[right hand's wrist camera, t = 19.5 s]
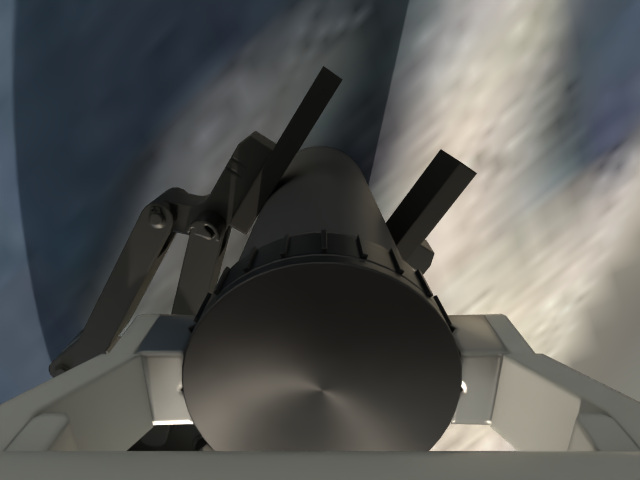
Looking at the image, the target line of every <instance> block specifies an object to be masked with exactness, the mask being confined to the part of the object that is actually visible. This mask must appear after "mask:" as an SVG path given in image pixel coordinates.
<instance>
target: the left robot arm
mask: <svg viewBox="0 0 640 480" xmlns="http://www.w3.org/2000/svg"><path fill="white" fill-rule="evenodd" d="M341 81H342V79H341V78H340V77H338V76H337V75H335V74H334V73H332V72H331V71H330V70H328V69H327V68H325V67H324V66H323V68H322V69H321V71H320V73H319V74H318V76H317V78H316V79H315V81H314V83H313V84H312V86H311V88H310V89H309V91H308V93H307V94H306V96H305V98H304V99H303V101H302V103H301V104H300V106H299V108H298V109H297V111H296V113H295V114H294V116H293V118H292V119H291V121H290V123H289V124H288V126H287V128H286V129H285V131H284V133H283V134H282V136H281V138H280V139H279V141H278V143H277V144H275V143H274V142H272V141H271V140H269V139H268V138H266V137H264V136H263V135H261V134H260V133H258V132H257V131H255V132H254V133H252V134H251V135H250V136H248V137H247V138H246V139H244V140H243V141H242V142H241V143H240V144H239V145H238V146H237V148H236V150H235V152H234V153H233V155H232V157H231V159H230V160H229V162H228V164H227V166H226V168H225V169H224V171H223V173H222V174H221V176H220V178H219V180H218V181H217V183H216V185H215V187H214V188H213V190H212V192H211V194H209V195H206V196H197V195H193V194H188V193H187V192H186V191H185V190H184V189H181V188H178V187H177V188H171V189H168V190H167V191H166V192H164V193H163V194H162V195H160V196H159V197H158V198H156V199H155V200H154V201H152V202H151V203H150V204H148V205H147V206H146V207H145V208H144V209H143V211H142V212H141V214H140V216H139V219H138V221H137V223H136V225H135V227H134V229H133V231H132V233H131V235H130V237H129V239H128V241H127V243H126V245H125V247H124V249H123V251H122V253H121V255H120V257H119V259H118V261H117V263H116V265H115V267H114V269H113V271H112V273H111V275H110V277H109V279H108V281H107V283H106V285H105V287H104V289H103V291H102V293H101V295H100V297H99V299H98V302H97V304H96V306H95V308H94V310H93V312H92V314H91V316H90V318H89V320H88V322H87V324H86V326H85V328H84V329H83V330H82V331H81V332H80V333H79V334H78V335H77V336H76V337H75V338H74V339H73V340H72V341H71V342H70V344H69V345H68V346H67V347H66V348H65V349H64V350H63V351H62V352H61V353H60V354H59V355H58V356H57V357H56V358H55V360H54V361H53V362H52V363H51V364H50V365H49V372H50V375H51V376H52V377H53V378H54V377H56V376H58V375H60V374H62V373H64V372H66V371H68V370H70V369H72V368H74V367H76V366H78V365H80V364H82V363H84V362H86V361H88V360H90V359H92V358H94V357H96V356H98V355H100V354H109V352H110V351H111V350H112V348H113V347H114V346H115V345H116V343H117V342H118V341H119V339H120V338H121V337H120V336H118V335H119V334H120V333H121V331H122V330H123V329H124V328H125V326H126V325H127V324H128V322H129V321H130V319H131V317H132V316H133V314H134V312H135V310H136V308H137V306H138V305H139V303H140V301H141V299H142V297H143V295H144V293H145V291H146V290H147V288H148V286H149V284H150V282H151V280H152V278H153V276H154V275H155V273H156V271H157V269H158V267H159V265H160V263H161V262H162V260H163V258H164V256H165V254H166V252H167V250H168V248H169V247H170V245H171V243H172V241H173V239H174V237H175V235H176V234H177V233H182V234H187V235H190V236H189V240H188V244H187V249H186V253H185V257H184V262H183V266H182V270H181V274H180V279H179V283H178V287H177V292H176V296H175V300H174V304H173V309H172V313H171V315H196V314H197V312H198V311H199V309H200V307H201V305H202V303H203V301H204V299H205V297H206V295H207V293H208V292H209V293H211V294H212V292H213V291H214V289H215V287H216V284H217V280H218V276H219V273H220V269H221V265H222V262H223V258H224V254H225V251H226V247H227V243H228V239H229V236H230V232H231V228H232V227H234V228H235V229H237V230H239V231H240V232H242V233H244V234H247V232H248V230H249V229H250V227H251V226H252V224H253V222H254V221H255V219H256V218H257V216H258V214H259V213H260V211H261V210H262V208H263V206H264V205H265V203H266V202H267V200H268V198H269V197H270V195H271V194H272V192H273V190H274V189H275V187H276V185H277V184H278V182H279V181H280V179H281V177H282V176H283V174H284V173H285V171H286V169H287V168H288V166H289V165H290V163H291V161H292V160H293V158H294V157H295V155H296V153H297V152H298V150H299V149H300V147H301V145H302V144H303V142H304V141H305V139H306V137H307V136H308V134H309V133H310V131H311V129H312V128H313V126H314V124H315V123H316V121H317V120H318V118H319V116H320V115H321V113H322V112H323V110H324V108H325V107H326V105H327V104H328V102H329V100H330V99H331V97H332V96H333V94H334V92H335V91H336V89H337V88H338V86H339V84H340V83H341ZM476 174H477V173H476V172H474V171H473V170H471V169H470V168H468V167H467V166H466V165H464V164H463V163H461V162H460V161H458V160H457V159H455V158H454V157H452V156H451V155H449V154H447V153H446V152H444V151H443V150H440V151H439V152H438V154H437V155H436V156H435V158H434V159H433V160H432V162H431V163H430V164H429V166H428V167H427V168H426V170H425V171H424V172H423V174H422V175H421V176H420V178H419V179H418V181H417V182H416V183H415V185H414V186H413V187H412V189H411V190H410V191H409V193H408V194H407V195H406V197H405V198H404V199H403V201H402V202H401V203H400V205H399V206H398V207H397V209H396V210H395V211H394V213H393V214H392V215H391V217H390V218H389V219H388V221H387V222H386V225H387V227H388V229H389V232H390V234H391V236H392V238H393V240H394V242H395V245H396V247H397V249H398V251H399V253H400V255H401V257H402V260H404V261H405V262H406V263H408V264H409V265H410V266H411V267H412V268H413V269H414V270H415V271H416V270H418V269H419V270H420V271H421V272H422V274H424V273H425V272H426V270H427V269H428V268H429V267H430V266H431V263H432V259H433V256H434V252H433V250H432V249H431V247H430V245H429V244H428V242H427V241H426V240H425V238H426V237H427V236H428V235H429V233H430V232H431V231H432V230H433V228H434V227H435V226H436V225H437V223H438V222H439V221H440V219H441V218H442V217H443V216H444V214H445V213H446V212H447V211H448V209H449V208H450V207H451V206H452V204H453V203H454V202H455V201H456V199H457V198H458V197H459V195H460V194H461V193H462V192H463V190H464V189H465V188H466V187H467V185H468V184H469V183H470V182H471V180H472V179H473V178H474V177H475V175H476ZM127 451H214V450H213V449H212V448H211V447H210V445H209V444H208V443H207V442H206V441H205V440H204V438H203V437H202V436H201V434H200V433H199V431H198V430H197V428H196V427H195V425H194V423H193V424H164V425H153V428H152V429H150V430H149V431H148V432H147V433H146V434H145V435H144V436H143V437H141V438H140V439H139V440H138V441H137V442H136V443H135V444H134V445H132V446H131V447H130V448H129V449H128V450H127Z"/></svg>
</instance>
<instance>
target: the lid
mask: <svg viewBox="0 0 640 480" xmlns="http://www.w3.org/2000/svg"><path fill="white" fill-rule="evenodd" d="M193 322H196V323H197V324H196V326H195V328H194V330H193V332H192V334H191V336H190V338H189V341H188V344H187V346H186V349H185V353H184V358H183V363H182V388H183V395H184V399H185V403H186V406H187V410H188V412H189V414H190V417H191V419H192V421H193V423H194V425H195V427H196V428H197V430H198V431H199V433H200V434H201V436H202V437H203V438H204V440H205V441H206V442H207V443H208V444H209V445H210V447H211V448H212V449H213V450H214V451H429V450H430V449H431V448H432V447H433V446H434V445H435V444H436V442H437V441H438V440H439V439H440V438H441V436H442V435H443V433H444V432H445V430H446V429H447V427H448V426H449V424H450V422H451V420H452V418H453V416H454V414H455V411H456V408H457V405H458V402H459V398H460V392H461V385H462V365H461V360H460V354H459V350H458V347H457V344H456V341H455V338H454V336H453V334H452V332H451V330H450V328H449V326H450V325H452V323H451V321H450V319H449V317H448V315H447V313H446V312H445V310H444V308H443V306H442V304H441V302H440V300H439V299H438V297H437V295H436V296H434V297H433V293H432V292H431V290H430V288H429V286H428V284H427V282H426V280H425V278H424V276H423V274H422V272H421V271H420V270H419V269H418V270H416V271H415V270H414V269H413V268H412V267H411V266H410V265H409V264H408V263H406V262H405V261H404V260H402V259H401V258H400V257H398V255H397V252H396V250H394V249H393V248H391V249H390V251H389V250H387V249H385V248H384V247H382V246H380V245H377V244H375V243H372V242H370V241H367V240H365V239H364V238H363V235H360V234H358V236H357V237H353V236H349V235H343V234H335V233H326V230H321V233H309V234H300V235H294V236H290V234H289V233H288V234H284V238H282V239H279V240H276V241H274V242H271V243H268V244H266V245H264V246H262V247H260V248H258V249H257V248H256V247H255V246H254V247H252V248H251V250H250V252H249V254H248V255H246V256H245V257H244V258H242V259H241V260H240V261H238V262H237V263H236V264H235V265H234V266H233V267H232V268H231V269H230V268H229V267H226V268H225V269H224V271H223V273H222V275H221V277H220V279H219V281H218V283H217V285H216V287H215V289H214V291H213V292H212V294H211V293H209V292H208V293H207V295H206V297H205V299H204V301H203V303H202V305H201V307H200V309H199V311H198V312H197V314H196V316H195V318H194V320H193Z"/></svg>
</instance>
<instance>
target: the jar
mask: <svg viewBox="0 0 640 480" xmlns="http://www.w3.org/2000/svg"><path fill="white" fill-rule="evenodd" d="M321 230H326V233H335V234H343V235H349V236H353V237H357V236H358V234H360V235H363V238H364V239H365V240H367V241H370V242H372V243H375V244H377V245H380V246H382V247H384V248H385V249H387V250H389V251H390V249H391V248H393V249H394V250H396V252H397V255H398V257H400V258H401V259H402V257H401V255H400V253H399V251H398V249H397V247H396V245H395V242H394V240H393V238H392V236H391V234H390V232H389V229H388V227H387V225H386V223H385V221H384V219H383V217H382V214H381V212H380V210H379V208H378V206H377V204H376V202H375V199H374V197H373V195H372V193H371V191H370V189H369V186H368V184H367V182H366V180H365V178H364V176H363V174H362V171H361V170H360V168H359V166H358V165H357V164H356V163H355V161H354V160H353V159H352V158H350V157H349V156H348V155H346V154H345V153H343V152H341V151H339V150H337V149H334V148H330V147H323V146H317V147H310V148H306V149H303V150H300V151H298V152H297V153H296V155H295V157H294V158H293V160H292V161H291V163H290V165H289V166H288V168H287V169H286V171H285V173H284V174H283V176H282V177H281V179H280V181H279V182H278V184H277V185H276V187H275V189H274V190H273V192H272V194H271V195H270V197H269V198H268V200H267V202H266V203H265V205H264V206H263V208H262V210H261V211H260V214H259V216H258V218H257V220H256V223H255V225H254V227H253V230H252V232H251V234H250V236H249V239H248V241H247V243H246V245H245V248H244V250H243V252H242V255H241V257H240V259H239V261H240V260H241V259H242V258H244V257H245V256H246V255H248V254H249V252H250V250H251V248H252V247H254V246H255V247H256V248H257V249H258V248H260V247H262V246H264V245H266V244H268V243H271V242H274V241H276V240H279V239H282V238H284V234H288V233H289V234H290V236H294V235H300V234H309V233H321Z"/></svg>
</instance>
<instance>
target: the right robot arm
mask: <svg viewBox="0 0 640 480" xmlns="http://www.w3.org/2000/svg"><path fill="white" fill-rule="evenodd" d="M195 316H196V315H168V314H163V315H161V314H142V315H138V316H137V317H136V318H135V320H134V321H133V322H132V324H131V325H130V326H129V328H128V329H127V330H126V331H125V333H124V334H123V335H122V337H121V338H120V339H119V341H118V342H117V343H116V345H115V346H114V347H113V348H112V350H111V351H110V352H109V354H100V355H98V356H96V357H94V358H92V359H90V360H88V361H86V362H84V363H82V364H80V365H78V366H76V367H74V368H72V369H70V370H68V371H66V372H64V373H62V374H60V375H58V376H56V377H54V378H52V379H50V380H48V381H46V382H44V383H42V384H40V385H38V386H36V387H34V388H32V389H30V390H28V391H26V392H24V393H22V394H20V395H18V396H16V397H14V398H12V399H10V400H8V401H6V402H4V403H2V404H0V480H640V402H638V401H636V400H634V399H632V398H630V397H628V396H626V395H624V394H622V393H620V392H618V391H616V390H614V389H612V388H610V387H608V386H606V385H604V384H602V383H600V382H598V381H596V380H594V379H592V378H590V377H588V376H586V375H584V374H582V373H580V372H578V371H576V370H574V369H572V368H570V367H568V366H566V365H564V364H562V363H560V362H558V361H556V360H554V359H552V358H550V357H548V356H546V355H544V354H535V352H534V351H533V350H532V348H531V347H530V346H529V345H528V343H527V342H526V341H525V340H524V338H523V337H522V336H521V334H520V333H519V332H518V331H517V329H516V328H515V327H514V325H513V324H512V323H511V322H510V320H509V319H508V318H507V317H506V316H505V315H503V314H487V315H448V317H449V319H450V321H451V323H452V325H450V326H449V328H450V330H451V332H452V334H453V336H454V338H455V341H456V344H457V347H458V350H459V354H460V360H461V365H462V385H461V392H460V398H459V402H458V405H457V408H456V411H455V414H454V416H453V418H452V420H451V424H479V425H491V426H490V427H491V428H493V429H494V430H495V431H496V432H497V433H498V434H499V435H500V436H502V437H503V438H504V439H505V440H506V441H507V442H508V443H510V444H511V445H512V446H513V447H514V448H515V449H516V450H517V451H127V450H128V449H129V448H130V447H131V446H132V445H134V444H135V443H136V442H137V441H138V440H139V439H140V438H141V437H143V436H144V435H145V434H146V433H147V432H148V431H149V430H150V429H152V428H153V425H164V424H193V421H192V419H191V417H190V414H189V412H188V410H187V406H186V403H185V399H184V395H183V388H182V363H183V358H184V353H185V349H186V346H187V344H188V341H189V338H190V336H191V334H192V332H193V330H194V328H195V326H196V324H197V323H196V322H193V320H194V318H195Z"/></svg>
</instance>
